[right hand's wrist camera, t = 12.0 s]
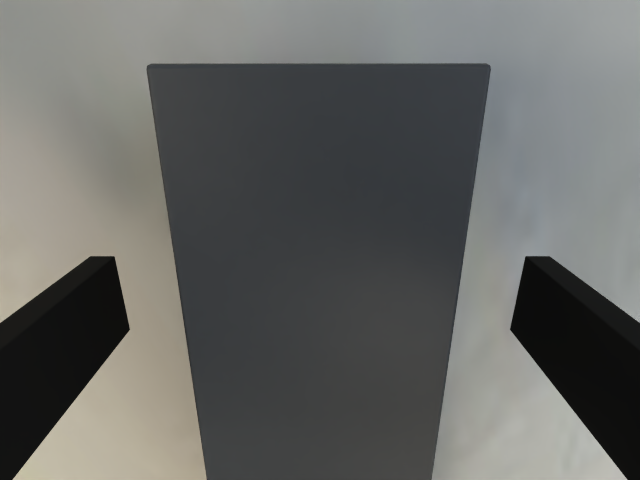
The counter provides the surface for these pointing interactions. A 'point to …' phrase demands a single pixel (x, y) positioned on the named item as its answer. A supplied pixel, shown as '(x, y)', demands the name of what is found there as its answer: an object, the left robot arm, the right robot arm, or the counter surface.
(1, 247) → the counter surface
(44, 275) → the counter surface
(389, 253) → the bar
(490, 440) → the counter surface
